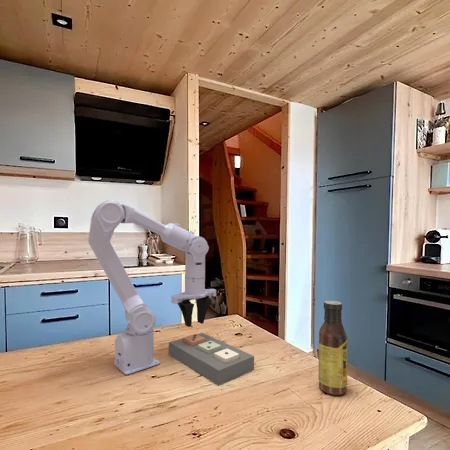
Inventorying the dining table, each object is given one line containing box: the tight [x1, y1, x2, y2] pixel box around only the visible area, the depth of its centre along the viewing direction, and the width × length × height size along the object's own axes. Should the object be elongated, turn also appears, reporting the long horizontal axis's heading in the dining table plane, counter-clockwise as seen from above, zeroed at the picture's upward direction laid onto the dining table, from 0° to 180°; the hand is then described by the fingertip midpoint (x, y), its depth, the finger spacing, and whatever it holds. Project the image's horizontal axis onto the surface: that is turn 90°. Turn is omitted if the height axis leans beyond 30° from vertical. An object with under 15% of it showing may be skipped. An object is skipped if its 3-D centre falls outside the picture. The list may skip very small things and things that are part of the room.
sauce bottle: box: [317, 300, 348, 396], centre depth 70 cm, size 7×6×20 cm
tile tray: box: [168, 332, 255, 386], centre depth 83 cm, size 12×22×4 cm, turn 42°
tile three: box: [182, 333, 205, 346], centre depth 88 cm, size 5×5×2 cm
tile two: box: [198, 341, 221, 354], centre depth 83 cm, size 5×5×2 cm
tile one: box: [214, 348, 239, 364], centre depth 78 cm, size 5×5×2 cm
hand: (194, 324), depth 88 cm, fingers open, 4 cm apart
